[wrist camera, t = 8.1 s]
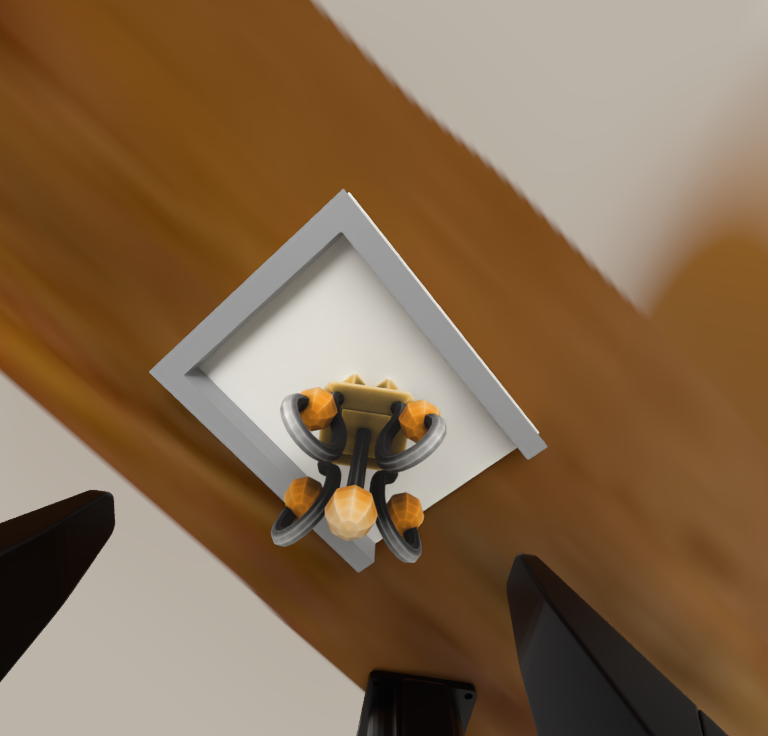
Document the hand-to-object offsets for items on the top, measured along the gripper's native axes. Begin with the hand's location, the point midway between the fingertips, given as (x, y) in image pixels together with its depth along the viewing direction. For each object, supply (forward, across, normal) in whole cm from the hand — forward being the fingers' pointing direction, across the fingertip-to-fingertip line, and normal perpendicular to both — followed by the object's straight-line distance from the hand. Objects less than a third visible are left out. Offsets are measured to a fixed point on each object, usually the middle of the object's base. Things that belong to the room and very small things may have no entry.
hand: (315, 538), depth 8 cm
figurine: (+9, -1, 0) cm, 9 cm away
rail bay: (+10, 0, 0) cm, 10 cm away
